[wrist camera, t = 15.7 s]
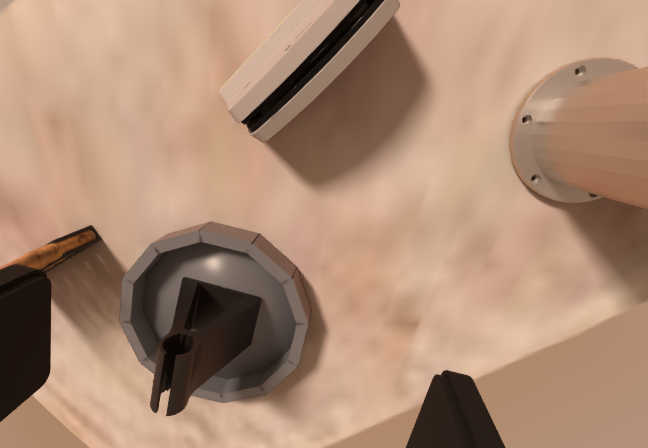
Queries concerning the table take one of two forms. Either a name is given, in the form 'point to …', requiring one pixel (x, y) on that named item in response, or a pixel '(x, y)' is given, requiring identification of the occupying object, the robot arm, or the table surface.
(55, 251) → the ammunition clip
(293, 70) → the white electronic device
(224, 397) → the round tray
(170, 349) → the phone stand
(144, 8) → the table surface
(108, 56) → the table surface
